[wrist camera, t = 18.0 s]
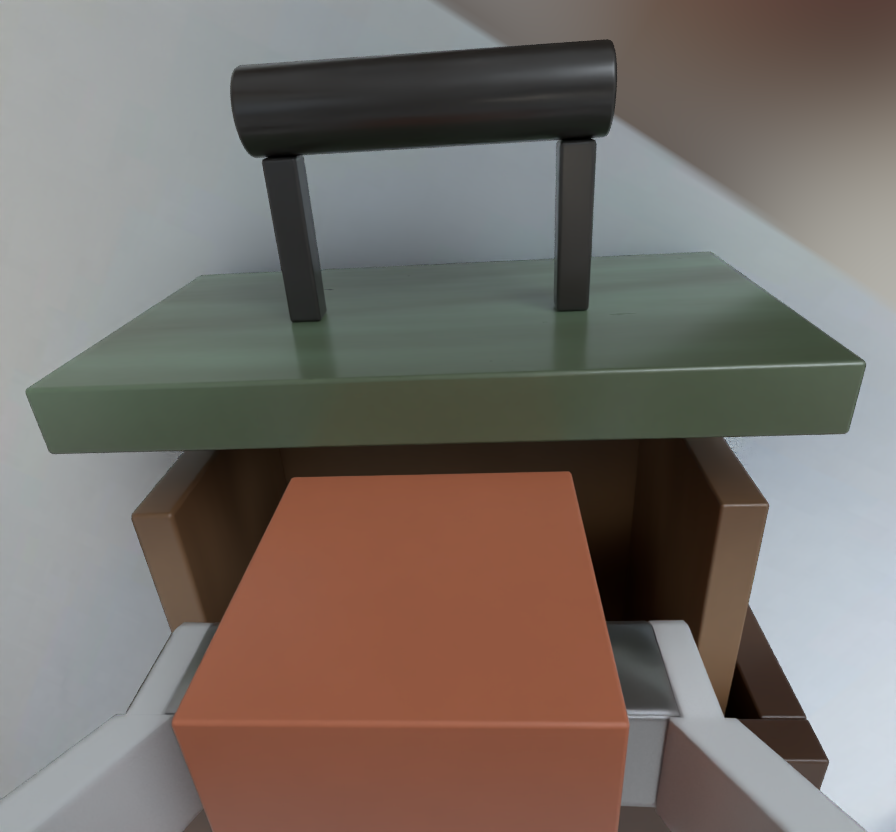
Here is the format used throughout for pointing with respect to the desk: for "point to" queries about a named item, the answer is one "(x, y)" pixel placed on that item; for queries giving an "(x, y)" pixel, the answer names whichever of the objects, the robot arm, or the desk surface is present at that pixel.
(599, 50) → the drawer
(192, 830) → the cabinet
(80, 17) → the desk surface
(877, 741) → the desk surface
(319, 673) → the block
